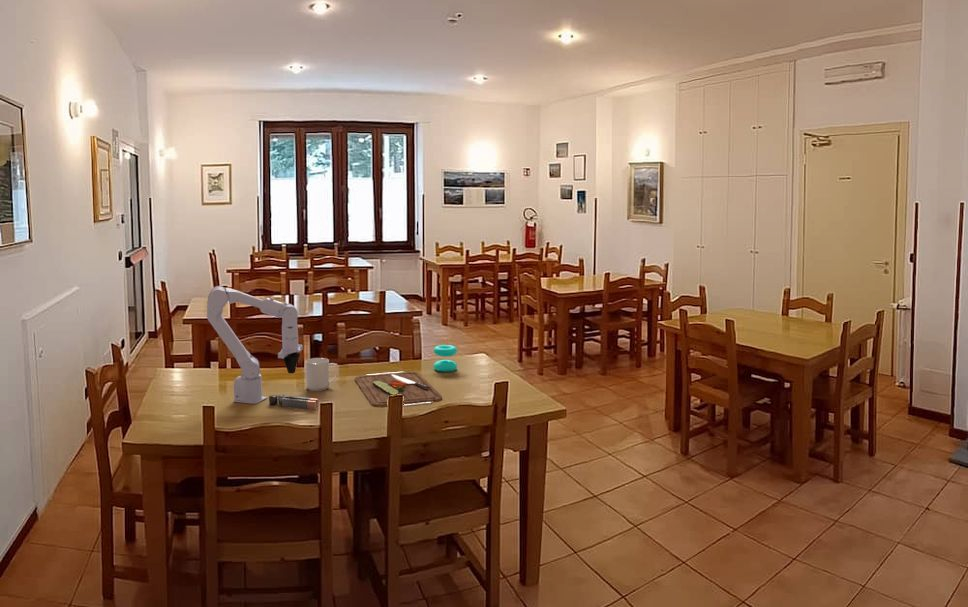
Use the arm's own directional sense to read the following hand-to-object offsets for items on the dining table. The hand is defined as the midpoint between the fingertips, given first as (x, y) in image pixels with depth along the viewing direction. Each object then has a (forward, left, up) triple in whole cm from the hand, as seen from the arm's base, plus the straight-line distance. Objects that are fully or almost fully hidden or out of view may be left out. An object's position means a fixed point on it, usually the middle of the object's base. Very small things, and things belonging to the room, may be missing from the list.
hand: (291, 372), depth 280 cm
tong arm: (+8, -9, -9) cm, 15 cm away
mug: (+5, +14, -10) cm, 18 cm away
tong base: (+6, -10, -9) cm, 15 cm away
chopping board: (+33, +22, -10) cm, 41 cm away
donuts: (+42, +55, -10) cm, 70 cm away
